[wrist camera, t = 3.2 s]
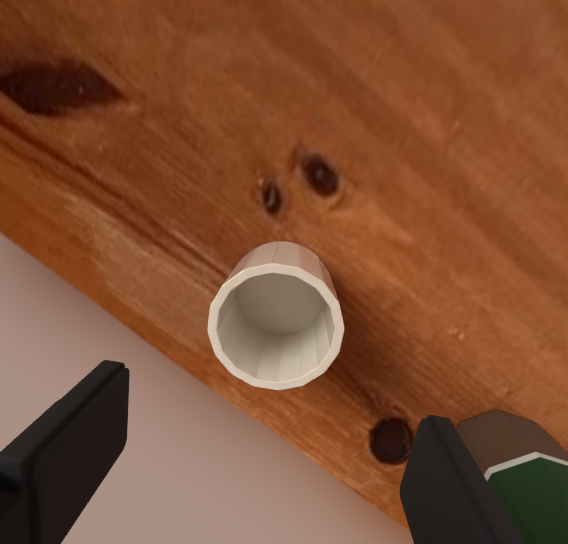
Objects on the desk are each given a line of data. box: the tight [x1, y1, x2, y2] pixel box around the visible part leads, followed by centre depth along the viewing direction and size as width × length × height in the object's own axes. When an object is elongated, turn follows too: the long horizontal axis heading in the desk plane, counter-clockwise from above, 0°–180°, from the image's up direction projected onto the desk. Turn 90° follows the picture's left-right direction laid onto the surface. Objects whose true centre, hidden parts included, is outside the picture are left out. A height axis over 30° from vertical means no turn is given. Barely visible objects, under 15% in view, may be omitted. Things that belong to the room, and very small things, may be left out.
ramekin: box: [208, 241, 344, 390], centre depth 21 cm, size 7×7×6 cm
